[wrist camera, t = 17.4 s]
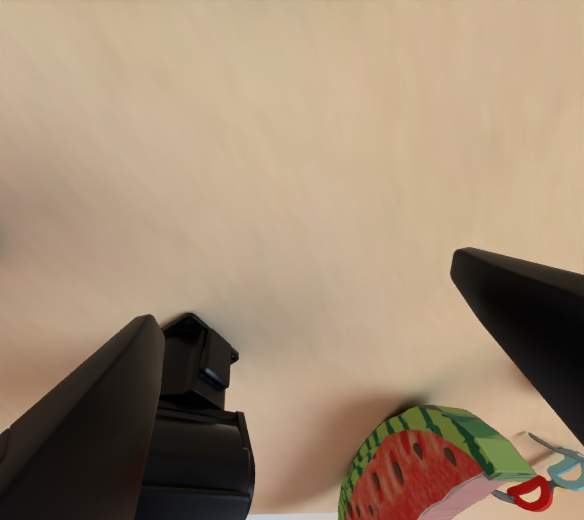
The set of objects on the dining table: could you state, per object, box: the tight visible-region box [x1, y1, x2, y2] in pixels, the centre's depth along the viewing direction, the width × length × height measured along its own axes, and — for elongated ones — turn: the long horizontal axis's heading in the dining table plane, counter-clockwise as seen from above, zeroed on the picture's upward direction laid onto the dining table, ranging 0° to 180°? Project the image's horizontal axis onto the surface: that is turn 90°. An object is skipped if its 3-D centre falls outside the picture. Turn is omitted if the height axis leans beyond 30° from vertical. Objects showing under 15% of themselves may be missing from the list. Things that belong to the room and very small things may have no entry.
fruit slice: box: [338, 405, 538, 520], centre depth 33 cm, size 26×6×10 cm, turn 157°
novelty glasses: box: [491, 433, 584, 512], centre depth 45 cm, size 14×15×5 cm
